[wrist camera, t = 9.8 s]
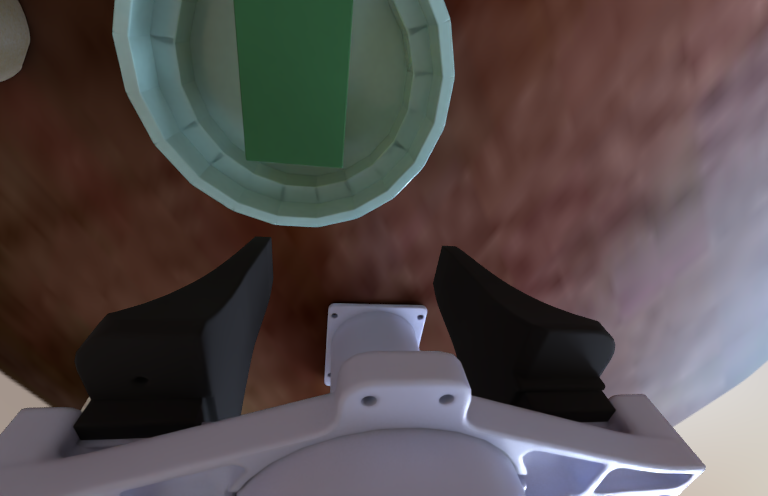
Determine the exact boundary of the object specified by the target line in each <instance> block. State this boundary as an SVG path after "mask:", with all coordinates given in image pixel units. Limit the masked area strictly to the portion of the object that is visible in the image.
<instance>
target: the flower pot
mask: <svg viewBox="0 0 768 496" xmlns="http://www.w3.org/2000/svg"><path fill="white" fill-rule="evenodd" d="M29 44H30V33H29V28H28V24H27V20H26V17H25V14H24V12H23V10H22V7H21V5H20V3H19V2H18V0H0V82H2V81H5V80H7V79H9V78H11V77H13V76H14V75H16V74H17V73H18V72H19V71H20V70H21V69H22V64H23V62H24V59H25V56H26V53H27V50H28V47H29Z"/></svg>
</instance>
